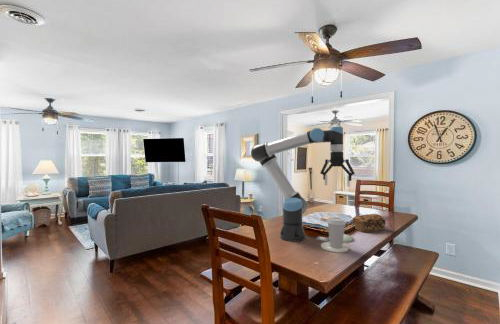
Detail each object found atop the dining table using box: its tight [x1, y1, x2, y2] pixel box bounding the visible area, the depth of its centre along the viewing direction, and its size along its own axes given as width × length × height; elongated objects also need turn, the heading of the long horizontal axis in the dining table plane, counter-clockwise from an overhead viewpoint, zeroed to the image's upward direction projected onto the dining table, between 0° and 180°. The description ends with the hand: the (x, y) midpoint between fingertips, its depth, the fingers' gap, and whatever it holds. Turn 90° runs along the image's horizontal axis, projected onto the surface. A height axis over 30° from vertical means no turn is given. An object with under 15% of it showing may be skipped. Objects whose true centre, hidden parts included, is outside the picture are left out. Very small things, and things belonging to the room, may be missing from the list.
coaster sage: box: [343, 233, 354, 243], centre depth 150 cm, size 14×14×1 cm
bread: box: [352, 213, 387, 233], centre depth 169 cm, size 19×11×10 cm, turn 104°
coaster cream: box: [320, 241, 349, 254], centre depth 135 cm, size 14×14×1 cm
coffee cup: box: [326, 216, 346, 249], centre depth 134 cm, size 10×10×15 cm
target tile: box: [314, 235, 330, 243], centre depth 148 cm, size 7×7×1 cm
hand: (337, 185), depth 155 cm, fingers open, 13 cm apart
